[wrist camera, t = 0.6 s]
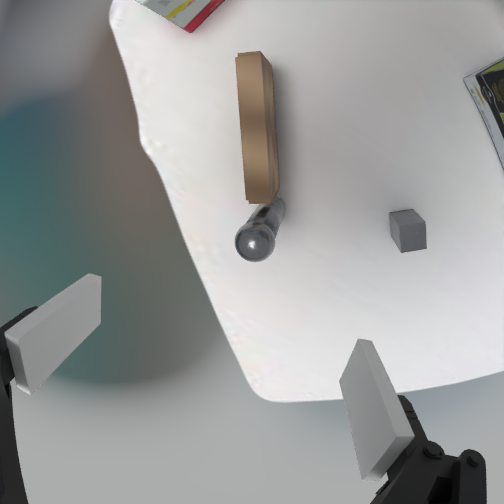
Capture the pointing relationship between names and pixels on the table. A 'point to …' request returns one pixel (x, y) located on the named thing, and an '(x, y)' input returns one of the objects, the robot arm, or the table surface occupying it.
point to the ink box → (183, 11)
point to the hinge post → (260, 231)
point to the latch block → (408, 230)
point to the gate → (257, 127)
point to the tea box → (490, 100)
